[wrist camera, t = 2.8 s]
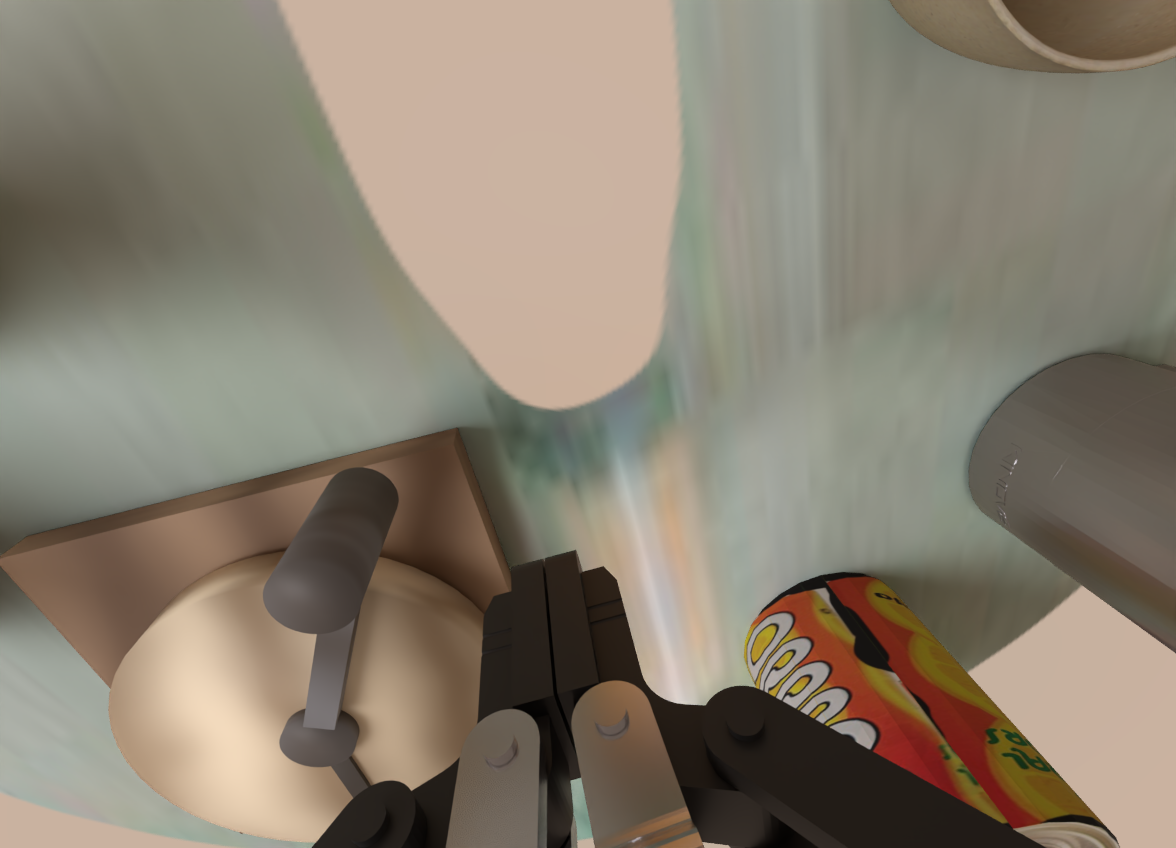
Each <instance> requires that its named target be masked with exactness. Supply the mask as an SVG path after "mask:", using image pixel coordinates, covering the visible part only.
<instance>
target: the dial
mask: <svg viewBox="0 0 1176 848" xmlns="http://www.w3.org/2000/svg"><path fill="white" fill-rule="evenodd" d="M398 502H399V497H398V492H397V489H396V487H395V486H394V484H393V483H392V481H391V480H390V479H389V478H387V477H386V476H385V475H383V474H382V473H380V472H378V471H376V470H373V469H369V468H364V467H354V468H348V469H345V470H343V471H341V472H339V473H337V474H336V475H335V476H334V477H333V478H332V479H331V480H330V482H329V483H328V485H327V486H326V488H325V490H324V491H323V493H322V494H321V496H320V498H319V499H318V501H317V502H316V504H315V506H314V507H313V509H312V510H311V512H310V513H309V515H308V517H307V518H306V520H305V521H304V523H303V525H302V526H301V528H300V529H299V531H298V533H297V534H296V536H295V537H294V539H293V541H292V542H291V544H290V545H289V547H288V549H287V550H286V551H283V552H276V553H271V554H266V555H261V556H255V557H251V558H248V559H245V560H242V561H239V562H236V563H232V564H229V565H227V566H225V567H222V568H220V569H218V570H216V571H214V572H211V573H209V574H207V575H205V576H204V577H202V578H200V579H199V580H197V581H196V582H194V583H193V584H191V585H189V586H188V587H186V588H185V589H184V590H183V591H182V592H180V593H179V594H178V595H177V596H176V597H175V598H174V599H172V600H171V601H170V602H169V603H168V605H167V606H166V607H165V608H164V609H163V611H162V612H161V613H160V614H159V615H158V617H157V618H156V619H155V620H154V621H153V623H152V624H151V625H150V626H149V628H148V629H147V630H146V631H145V632H144V634H143V635H142V636H141V637H140V638H139V640H138V641H137V642H136V643H135V644H134V646H133V647H132V648H131V649H130V651H129V652H128V653H127V654H126V655H125V657H124V658H123V660H122V662H121V664H120V666H119V668H118V670H117V671H116V673H115V676H114V679H113V683H112V686H111V690H110V695H109V710H108V711H109V718H110V724H111V730H112V732H113V735H114V738H115V740H116V743H117V746H118V748H119V749H120V751H121V753H122V754H123V756H124V758H125V759H126V761H127V763H128V764H129V765H130V766H131V767H132V769H133V770H134V771H135V772H136V773H137V775H138V776H139V777H140V778H141V779H142V780H143V781H144V782H145V783H147V784H148V785H149V786H150V787H151V788H152V789H153V790H154V791H155V792H157V793H158V794H160V795H161V796H162V797H164V798H165V799H167V800H168V801H170V802H171V803H172V804H174V805H176V806H178V807H179V808H181V809H183V810H185V811H187V812H188V813H190V814H192V815H194V816H197V817H199V818H201V819H204V820H206V821H208V822H210V823H213V824H216V825H219V826H222V827H225V828H228V829H231V830H234V831H237V832H241V833H246V834H250V835H254V836H258V837H264V838H270V839H277V840H285V841H296V842H317V841H318V839H319V838H320V837H321V836H322V835H323V833H324V832H325V831H326V830H327V828H328V827H329V826H330V825H331V824H332V822H333V821H334V820H335V819H336V817H337V816H338V815H339V814H340V813H341V811H342V810H343V809H344V808H345V807H346V805H347V804H348V803H349V802H350V801H351V800H352V799H353V798H354V797H355V796H357V795H358V794H359V793H360V792H362V791H363V790H365V789H366V788H368V787H370V786H372V785H374V784H376V783H379V782H383V781H389V780H394V781H399V782H402V783H404V784H405V785H406V786H408V787H409V788H410V790H411V791H412V790H414V789H415V788H417V787H419V786H420V785H422V784H423V783H425V782H427V781H428V780H430V779H431V778H433V777H435V776H436V775H438V774H439V773H441V772H443V771H444V770H445V769H447V768H448V767H450V766H451V765H452V764H453V763H454V762H455V761H456V760H457V759H458V758H459V757H460V754H461V750H462V747H463V744H464V742H465V740H466V738H467V736H468V735H469V733H470V732H471V731H472V729H473V728H474V727H475V726H476V725H477V720H478V706H479V688H480V671H481V656H482V640H483V618H484V614H483V613H482V612H481V611H480V610H479V609H478V608H477V607H476V606H475V605H474V603H473V602H471V601H470V600H469V599H468V598H466V597H465V596H464V595H462V594H461V593H460V592H459V591H457V590H456V589H455V588H453V587H451V586H450V585H448V584H446V583H445V582H443V581H441V580H440V579H438V578H436V577H434V576H432V575H430V574H428V573H425V572H423V571H421V570H419V569H417V568H414V567H412V566H409V565H406V564H403V563H400V562H397V561H394V560H391V559H388V558H383V557H379V555H380V553H381V550H382V547H383V545H384V542H385V539H386V537H387V534H388V531H389V529H390V526H391V523H392V521H393V518H394V515H395V512H396V510H397V507H398Z"/></svg>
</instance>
